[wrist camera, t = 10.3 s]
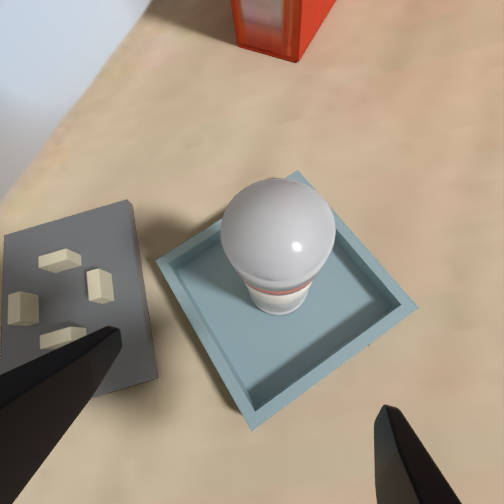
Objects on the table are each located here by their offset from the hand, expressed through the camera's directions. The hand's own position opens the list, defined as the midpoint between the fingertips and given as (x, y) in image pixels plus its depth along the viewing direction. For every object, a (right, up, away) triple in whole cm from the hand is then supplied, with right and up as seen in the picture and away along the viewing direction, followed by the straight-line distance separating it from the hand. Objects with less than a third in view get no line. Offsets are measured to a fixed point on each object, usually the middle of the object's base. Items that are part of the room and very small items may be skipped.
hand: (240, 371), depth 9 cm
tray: (+3, +1, +14) cm, 14 cm away
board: (-15, 0, +15) cm, 21 cm away
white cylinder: (+3, +1, +13) cm, 14 cm away
